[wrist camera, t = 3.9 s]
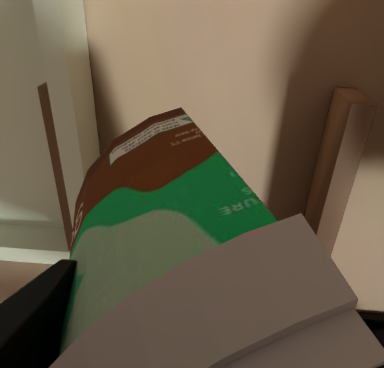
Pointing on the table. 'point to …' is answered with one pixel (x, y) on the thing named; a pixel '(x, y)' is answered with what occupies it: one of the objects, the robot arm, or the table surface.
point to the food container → (198, 267)
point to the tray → (42, 124)
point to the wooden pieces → (323, 175)
